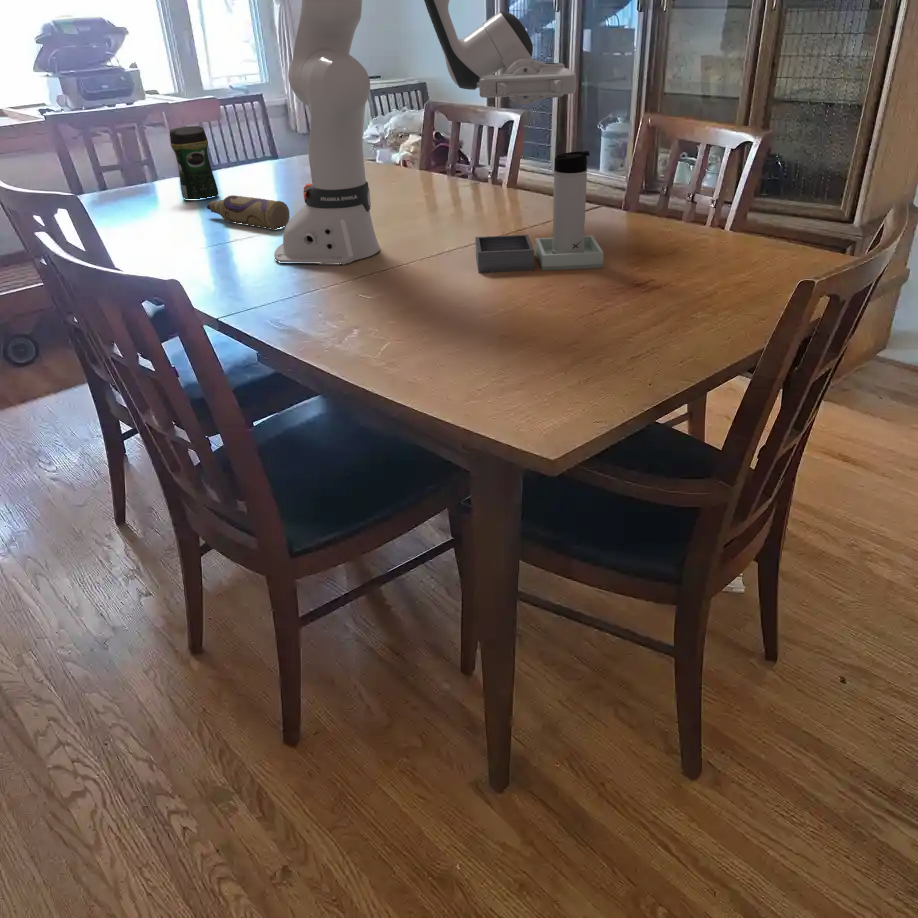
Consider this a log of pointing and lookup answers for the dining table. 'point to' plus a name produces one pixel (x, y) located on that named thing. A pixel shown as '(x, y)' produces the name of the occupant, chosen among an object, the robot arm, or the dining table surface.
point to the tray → (569, 256)
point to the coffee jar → (193, 162)
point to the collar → (504, 253)
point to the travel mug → (569, 202)
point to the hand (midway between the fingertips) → (530, 89)
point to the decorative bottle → (252, 211)
